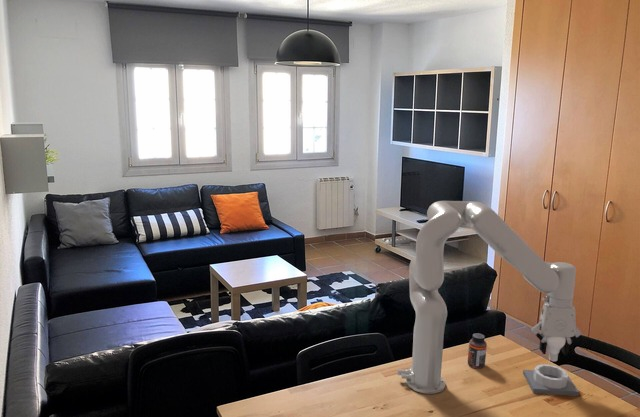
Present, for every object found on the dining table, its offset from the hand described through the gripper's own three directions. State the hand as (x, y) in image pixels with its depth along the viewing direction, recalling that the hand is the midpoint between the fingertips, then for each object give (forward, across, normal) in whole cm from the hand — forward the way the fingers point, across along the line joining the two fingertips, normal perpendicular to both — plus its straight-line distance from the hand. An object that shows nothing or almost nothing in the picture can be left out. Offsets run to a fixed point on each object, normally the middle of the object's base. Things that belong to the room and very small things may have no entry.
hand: (553, 352), depth 171 cm
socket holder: (+12, 0, 0) cm, 12 cm away
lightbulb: (+3, 0, 0) cm, 3 cm away
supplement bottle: (+12, -22, +10) cm, 27 cm away
